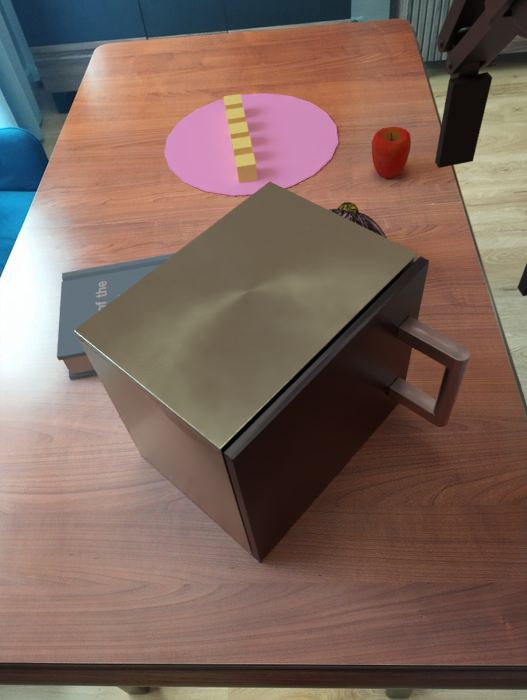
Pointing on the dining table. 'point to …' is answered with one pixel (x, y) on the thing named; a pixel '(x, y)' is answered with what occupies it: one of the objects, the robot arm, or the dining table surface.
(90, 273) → the book
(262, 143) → the platter
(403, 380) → the compartment door
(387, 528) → the dining table surface
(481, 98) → the robot arm
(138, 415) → the storage compartment
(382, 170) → the apple
